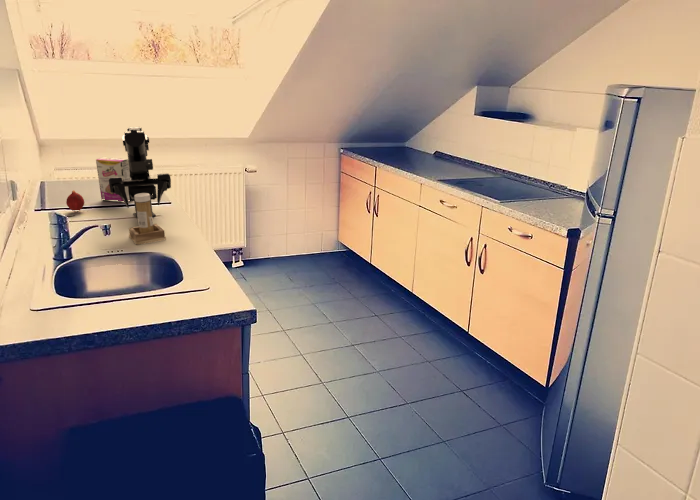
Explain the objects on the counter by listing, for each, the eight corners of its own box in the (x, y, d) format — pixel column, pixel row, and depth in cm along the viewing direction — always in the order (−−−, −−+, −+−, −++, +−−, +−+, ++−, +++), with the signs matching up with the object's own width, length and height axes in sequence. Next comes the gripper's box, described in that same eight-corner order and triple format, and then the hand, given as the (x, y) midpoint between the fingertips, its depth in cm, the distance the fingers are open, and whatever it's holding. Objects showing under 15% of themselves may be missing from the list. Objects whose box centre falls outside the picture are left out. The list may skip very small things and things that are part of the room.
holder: (129, 236, 181) (127, 227, 180) (157, 232, 186) (156, 223, 185) (136, 244, 174) (135, 235, 173) (166, 239, 179) (165, 230, 178)
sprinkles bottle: (157, 235, 181) (152, 193, 176) (145, 238, 177) (140, 196, 172) (148, 232, 183) (143, 191, 178) (136, 236, 180) (130, 194, 175)
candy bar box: (100, 201, 220) (94, 159, 214) (108, 198, 225) (103, 156, 219) (126, 203, 218) (121, 160, 212) (134, 200, 222) (129, 158, 217)
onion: (89, 211, 207) (85, 190, 205) (74, 215, 203) (70, 193, 200) (79, 208, 210) (76, 187, 208) (64, 212, 206) (61, 191, 203)
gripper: (104, 152, 178) (109, 195, 172) (167, 148, 184) (173, 190, 179) (108, 171, 187) (113, 213, 182) (167, 167, 194) (173, 207, 188)
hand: (143, 205), depth 182 cm, fingers open, 9 cm apart
